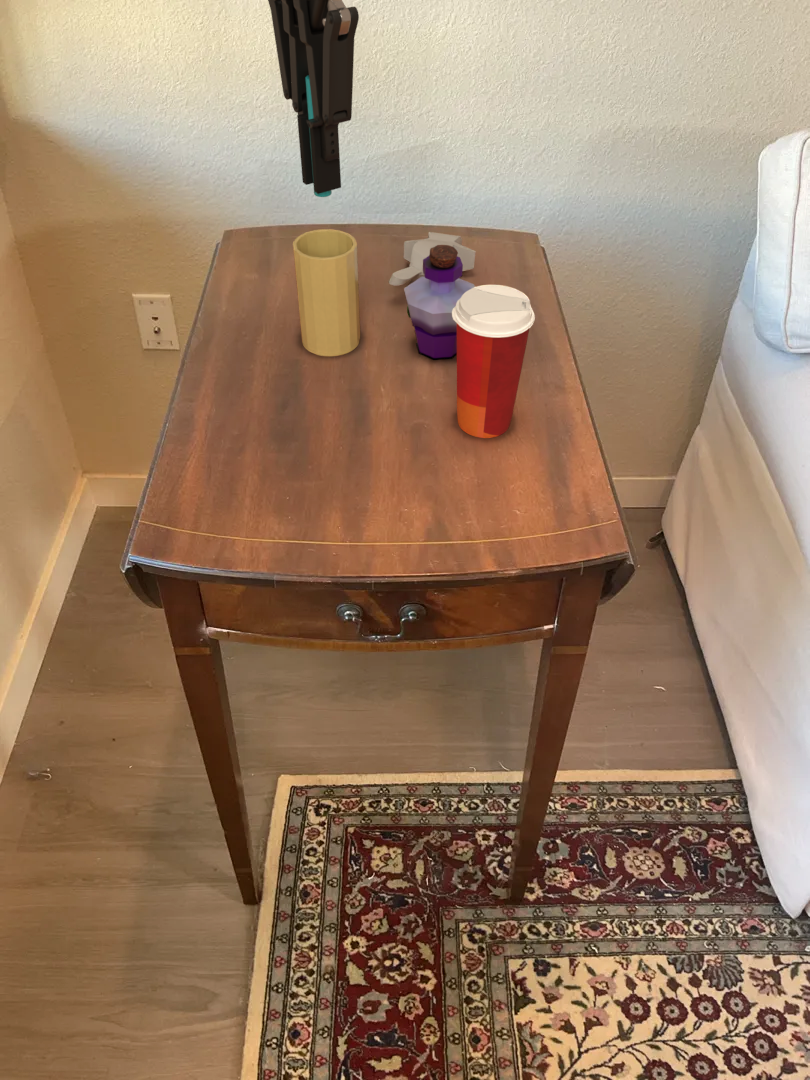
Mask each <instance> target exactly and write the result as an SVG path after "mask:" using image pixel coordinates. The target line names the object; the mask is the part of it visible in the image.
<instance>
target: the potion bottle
mask: <svg viewBox="0 0 810 1080" xmlns="http://www.w3.org/2000/svg"><path fill="white" fill-rule="evenodd" d="M457 254H458V252H457V250H456V249H455V248H454V247H452V246H449V245H437V246H435V247H433V248H431V249H430V255H429V256H428V257H426V258H425V259H423V273H424V276H425V277H420V278H419V279H417V280H416V281H414V282H413V283H412V282H410V284H409V285H406V287H404V288H403V291H404V295H405V300H406V304H407V305H406V306H407V307H406V309H407V310H406V312H407V317H408V318H409V319H410V321H411V324H412V325H411V326H412V327H413V328H414V333H415V338H416V343H415V345H416V349H417V353H418V355H421V356H423V357H425V358H427V359H429V360H431V361H442V360H443V361H444V360H453V359H455V357H457V323H456V322H455V321H454V320H453V317H452V310H453V308H454V307H455V306H456V303H457V301H458V300H459V299H460V298H461V297H462V295H463V294H464V293H465V292H467V291H468V290H470V289H472V288H474V287H476V285H475V284H474V283H473V282H470V281H467V280H465V279H462V278H461V277H463V271H462V270H463V264H462V261H461V259H460V257H458V256H457Z"/></svg>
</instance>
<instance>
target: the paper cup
mask: <svg viewBox="0 0 810 1080" xmlns="http://www.w3.org/2000/svg"><path fill="white" fill-rule="evenodd" d="M452 317H453V320H454V321H455V322H456V323H457V356H456V415H457V416H456V417H457V418H456V419H457V424H458V427H459V428H460V429H461V430H462V431H463V432H464V433H466V434H467V435H469V436H472V437H475V438H480V439H490V438H496V437H499V436H502V435H503V434H505V433H506V432H507V431H508V430H509V428H510V426H511V422H512V417H513V415H514V414H513V413H514V409H515V404H516V399H517V394H518V389H519V385H520V384H519V383H520V378H521V375H522V368H523V365H524V359H525V353H526V348H527V345H528V344H527V343H528V339H529V334H530V329H531V327H532V326H533V325H534V323H535V319H536V315H535V312H534V310H533V308H532V305H531V300H530V298H529V297H528V295H526V294H525V293H524V292H523V291H521V290H519V289H518V288H515V287H511V286H508V285H502V284H483V285H477V286H475V287H474V288H472V289H470V290H468V291H467V292H465V293H464V294H463V295H462V297H461V298H460V299H459V300H458V301H457V303H456V306H455V307H454V308H453V310H452Z"/></svg>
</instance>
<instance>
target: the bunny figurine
mask: <svg viewBox="0 0 810 1080" xmlns="http://www.w3.org/2000/svg"><path fill="white" fill-rule="evenodd" d="M437 245H449V246H452V247H454V248H455V249H456V250H457V252H458V254H457V256H458V257H460V259H461V261H462V264H463V270H462V272H464V271H469V270H474V269H475V265H476V264H475V263H476V254H477V251H476V250H474V249H472V248H470V247H467V246H465V245H463V238H462V236H461V235H455V234H450V233H449V234H448V233H442V232H435V231H428V234H427V237H425V238H421V239H420V238H419V239H410V240H406V241H403V259H404V260H406V261H408V262H409V266H408V267H404V268H402V269H399V270H397V271H395V272H392V274H391V275H390V279H389V280H388V284H389V285H391V286H395V287H396V286H403V285H405V284H406V283H408V282H410V283H413V282H414V281H416V280H417V279H419V278H420V277H425V276H424V273H423V259H425V258H426V257H428V256H429V255H430V249H431V248H433V247H435V246H437Z"/></svg>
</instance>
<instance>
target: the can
mask: <svg viewBox="0 0 810 1080" xmlns="http://www.w3.org/2000/svg"><path fill="white" fill-rule="evenodd" d="M292 252H293V262H294V272H295V273H294V274H295V284H296V294H297V305H298V316H299V326H300V336H301V344H302V346H303V347H304V349H305V350H306V351H308V352H309V353H310V354H311V353H312V354H314V355H317V356H321V357H340V356H343V355H346V354H348V353H349V354H350V353H351V352H352V351H354V350H355V349H357V347H358V346H359V344H360V342H361V327H360V326H361V321H360V320H361V319H360V318H361V317H360V293H359V292H360V291H359V267H358V266H359V263H358V262H359V261H358V243H357V240H356V237H354V236H353V235H351V234H350V233H348V232H345V231H343V230H339V229H330V228H322V229H321V228H320V229H314V230H313V229H312V230H309V231H307V232H303V233H302V234H300V235H299V236H297V237H296V238H295V239H294V240H293V242H292Z"/></svg>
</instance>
